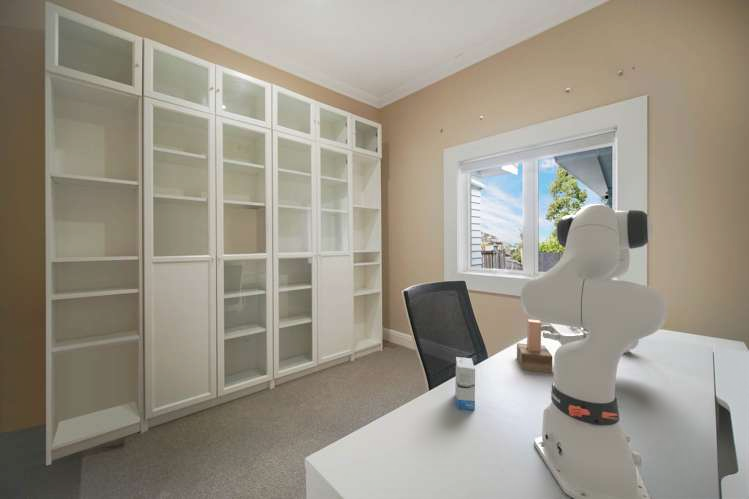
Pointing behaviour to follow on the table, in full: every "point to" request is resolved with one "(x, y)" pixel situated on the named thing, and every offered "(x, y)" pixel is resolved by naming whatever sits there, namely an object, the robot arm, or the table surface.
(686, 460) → the table surface
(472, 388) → the ink box
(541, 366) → the block
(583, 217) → the robot arm
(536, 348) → the terracotta block
